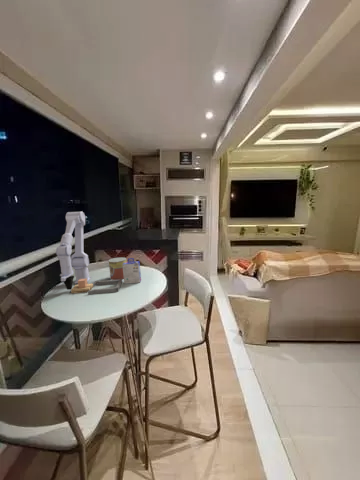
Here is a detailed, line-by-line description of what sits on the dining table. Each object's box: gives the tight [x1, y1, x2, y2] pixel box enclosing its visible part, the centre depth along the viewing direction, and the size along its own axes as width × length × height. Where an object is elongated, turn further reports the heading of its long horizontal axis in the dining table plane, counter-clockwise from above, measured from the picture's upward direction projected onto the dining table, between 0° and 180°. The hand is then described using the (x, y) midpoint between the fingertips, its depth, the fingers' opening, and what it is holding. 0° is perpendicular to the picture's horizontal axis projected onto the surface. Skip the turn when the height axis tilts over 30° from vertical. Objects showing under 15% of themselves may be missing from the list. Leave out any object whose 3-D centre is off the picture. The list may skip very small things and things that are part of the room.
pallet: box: [70, 282, 94, 294], centre depth 148 cm, size 8×10×2 cm
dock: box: [87, 279, 123, 296], centre depth 149 cm, size 18×16×2 cm
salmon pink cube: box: [77, 278, 89, 288], centre depth 148 cm, size 4×4×4 cm
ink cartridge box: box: [122, 257, 142, 285], centre depth 156 cm, size 10×6×14 cm, turn 93°
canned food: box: [107, 256, 128, 281], centre depth 166 cm, size 11×11×12 cm
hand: (69, 289), depth 148 cm, fingers closed
